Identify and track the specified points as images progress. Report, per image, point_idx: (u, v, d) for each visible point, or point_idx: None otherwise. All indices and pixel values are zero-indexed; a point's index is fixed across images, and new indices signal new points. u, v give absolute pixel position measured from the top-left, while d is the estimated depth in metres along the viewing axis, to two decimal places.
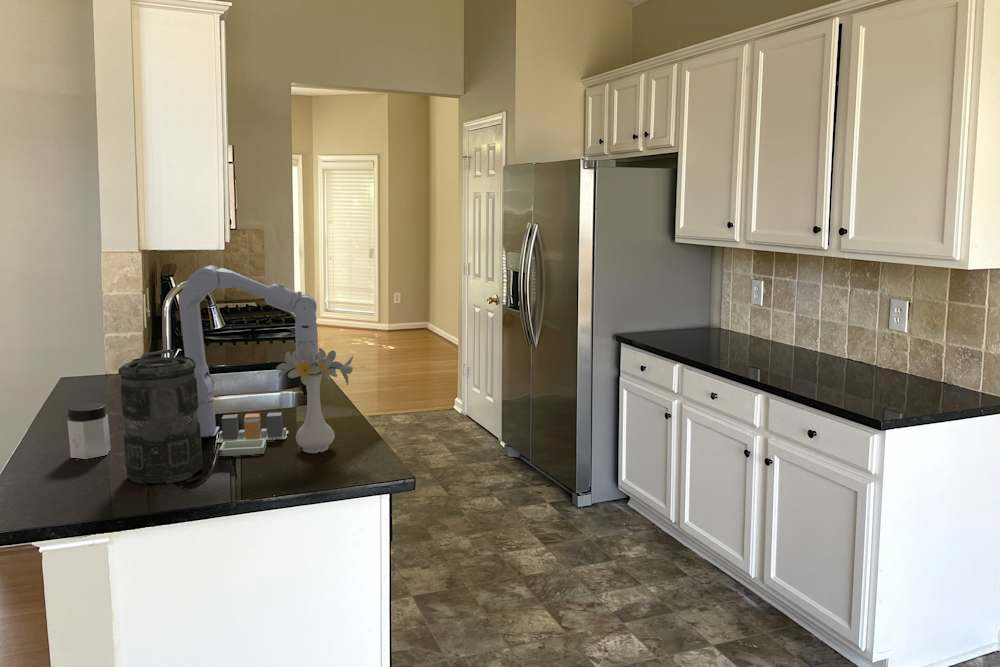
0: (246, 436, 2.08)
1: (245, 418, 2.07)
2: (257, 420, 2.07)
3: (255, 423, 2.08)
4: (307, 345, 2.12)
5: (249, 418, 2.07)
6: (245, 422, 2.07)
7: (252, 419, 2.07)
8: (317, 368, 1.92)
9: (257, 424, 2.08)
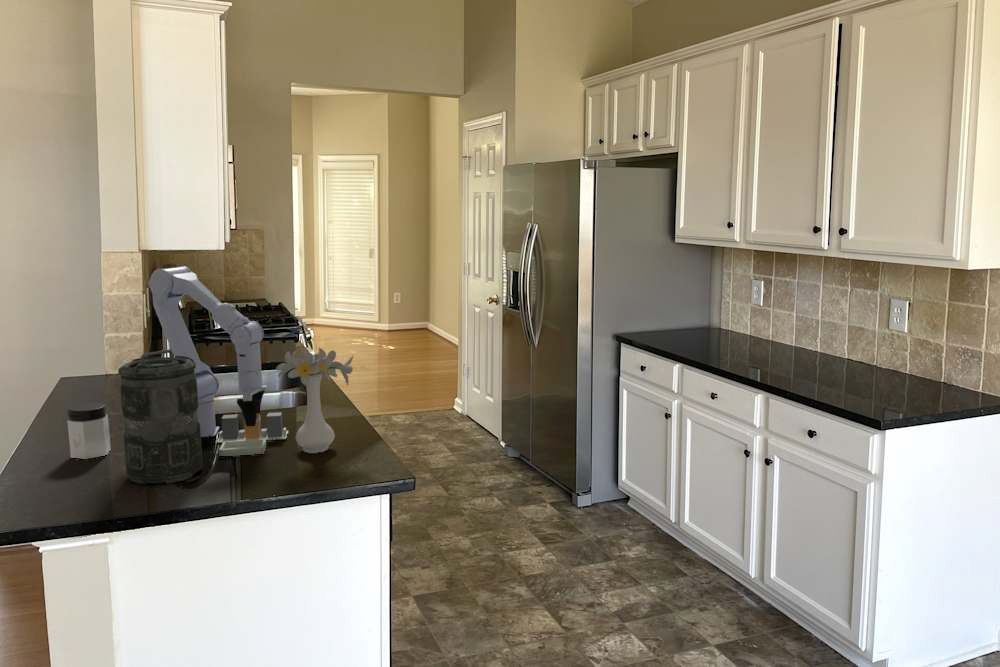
0: (246, 436, 2.08)
1: None
2: (257, 420, 2.07)
3: None
4: (249, 374, 2.04)
5: None
6: None
7: None
8: (317, 368, 1.92)
9: (257, 424, 2.08)
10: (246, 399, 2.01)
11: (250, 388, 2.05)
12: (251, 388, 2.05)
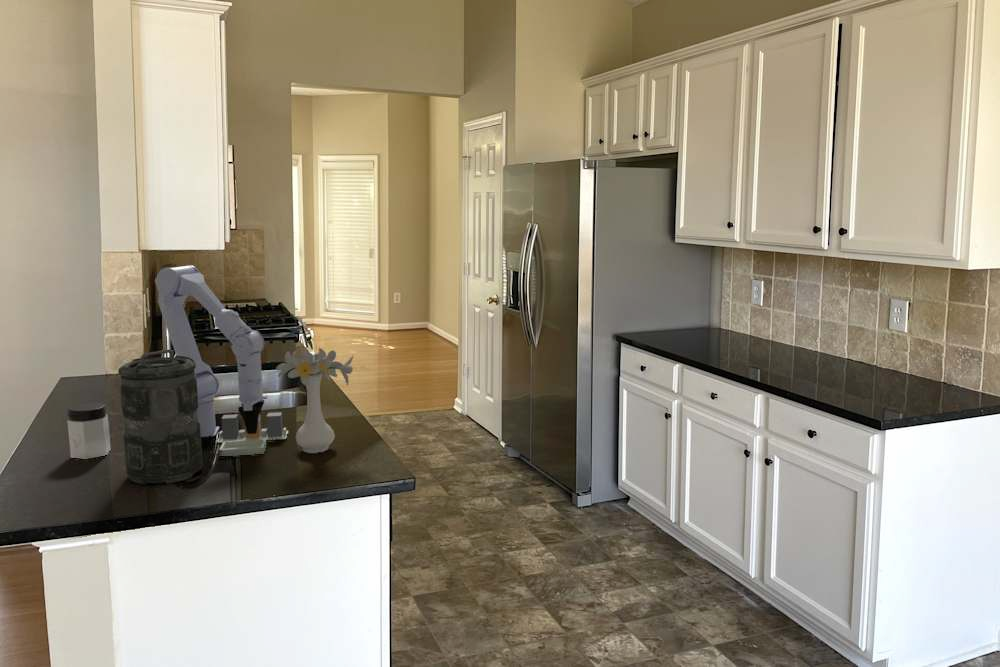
0: (246, 436, 2.08)
1: None
2: None
3: None
4: (250, 384, 2.05)
5: None
6: None
7: None
8: (317, 368, 1.92)
9: None
10: (246, 409, 2.01)
11: (250, 398, 2.05)
12: (251, 398, 2.05)
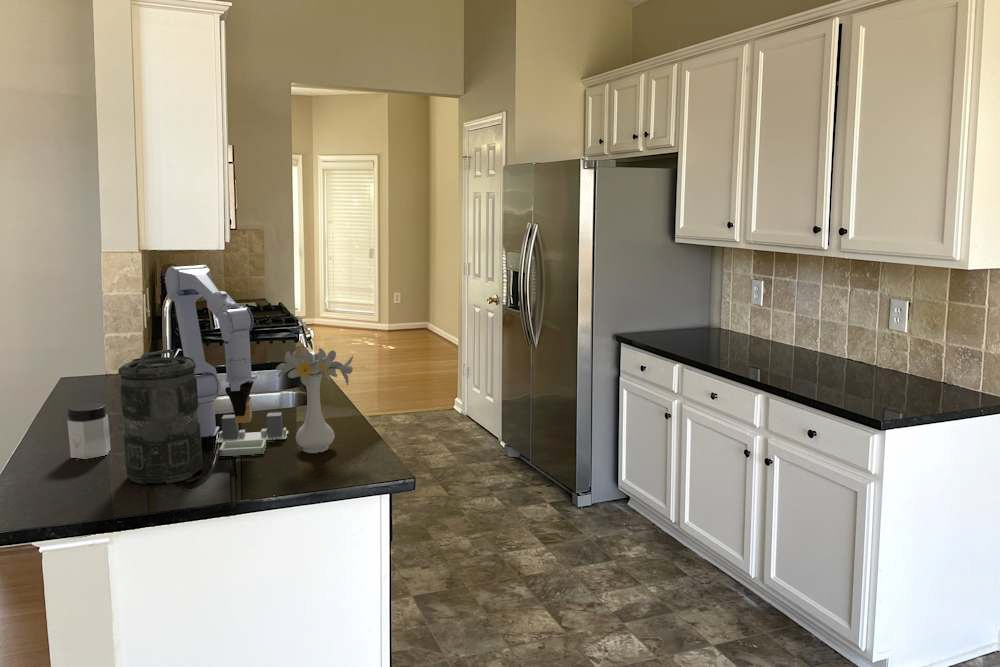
0: (236, 420, 1.96)
1: None
2: (248, 404, 1.96)
3: None
4: (238, 363, 1.93)
5: None
6: None
7: None
8: (317, 368, 1.92)
9: (248, 408, 1.96)
10: (234, 389, 1.89)
11: (238, 377, 1.93)
12: (239, 377, 1.93)
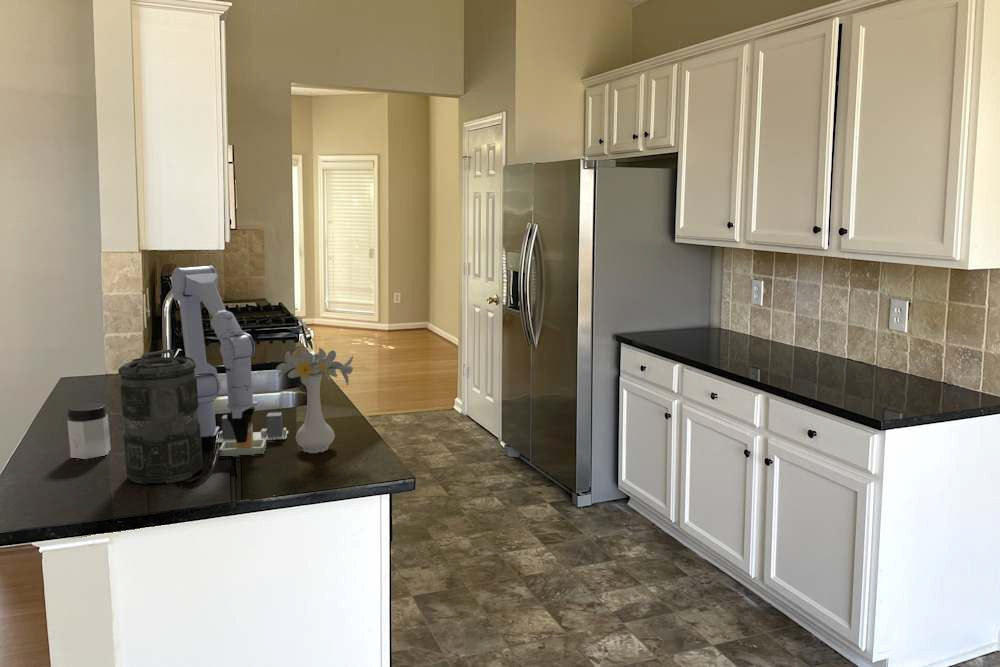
0: (237, 447, 1.97)
1: None
2: (249, 430, 1.97)
3: (247, 433, 1.97)
4: (239, 390, 1.94)
5: None
6: None
7: None
8: (317, 368, 1.92)
9: (249, 434, 1.97)
10: (235, 416, 1.90)
11: (240, 404, 1.94)
12: (241, 404, 1.94)
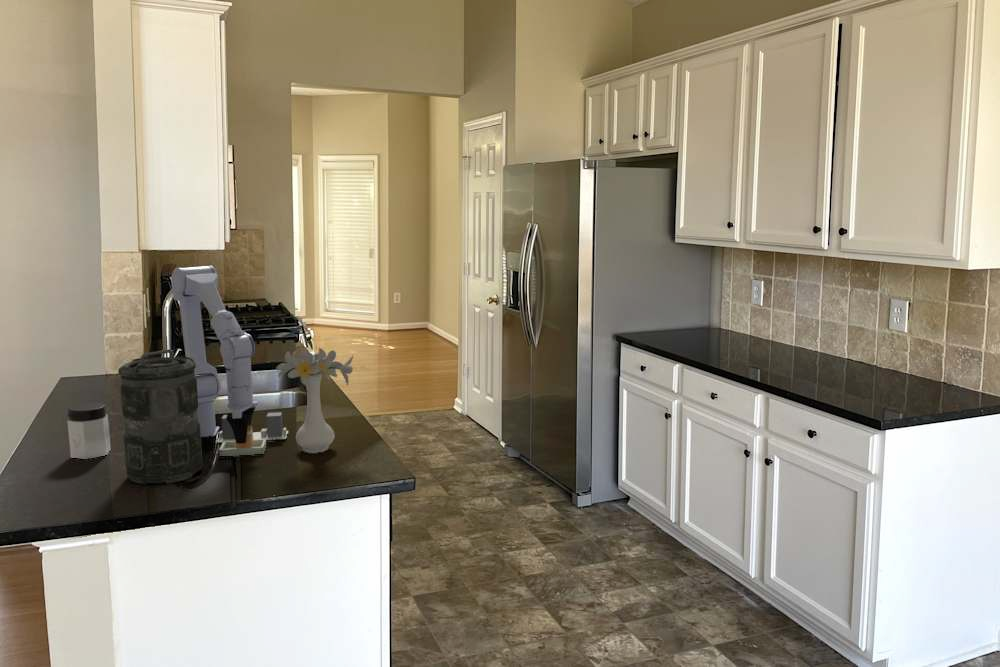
0: None
1: None
2: (249, 433, 1.97)
3: (247, 436, 1.97)
4: (239, 390, 1.94)
5: None
6: None
7: None
8: (317, 368, 1.92)
9: (249, 437, 1.97)
10: (235, 416, 1.90)
11: (240, 404, 1.94)
12: (241, 404, 1.94)
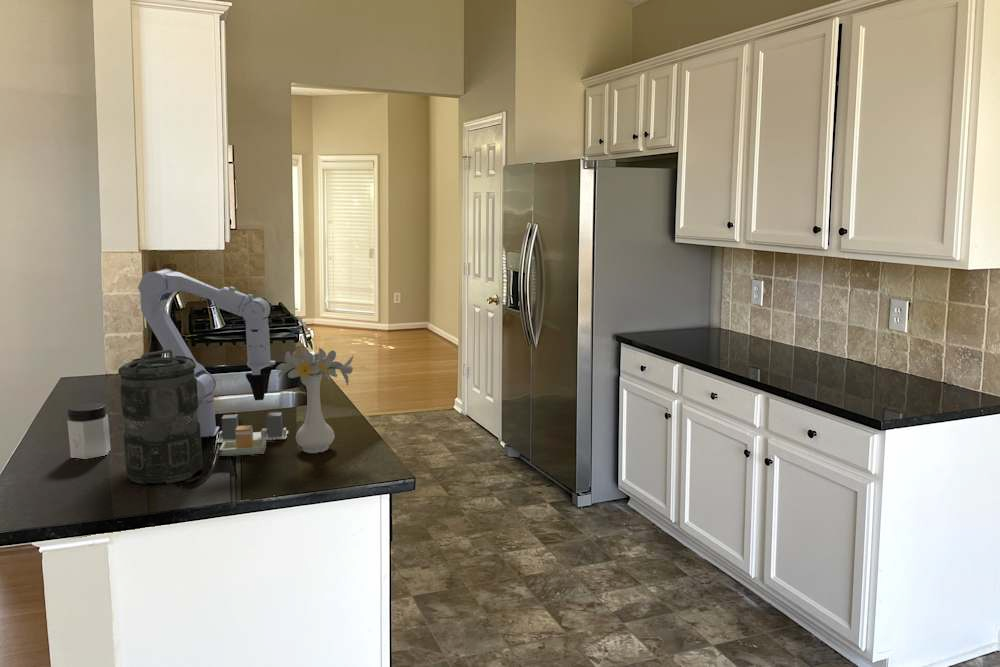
0: None
1: (236, 431, 1.96)
2: (249, 433, 1.97)
3: (247, 436, 1.97)
4: (258, 349, 2.08)
5: (241, 431, 1.96)
6: (236, 435, 1.96)
7: (244, 432, 1.96)
8: (317, 368, 1.92)
9: (249, 437, 1.97)
10: (255, 373, 2.05)
11: (259, 363, 2.09)
12: (260, 363, 2.09)
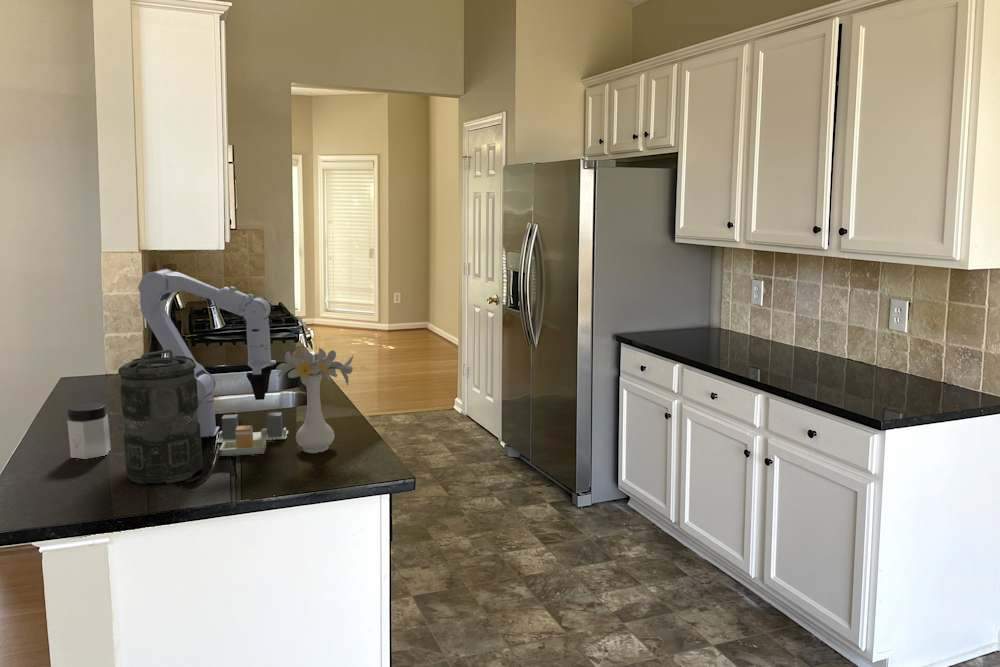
0: None
1: (236, 431, 1.96)
2: (249, 433, 1.97)
3: (247, 436, 1.97)
4: (259, 349, 2.09)
5: (241, 431, 1.96)
6: (236, 435, 1.96)
7: (244, 432, 1.96)
8: (317, 368, 1.92)
9: (249, 437, 1.97)
10: (256, 373, 2.05)
11: (259, 362, 2.09)
12: (260, 362, 2.09)
